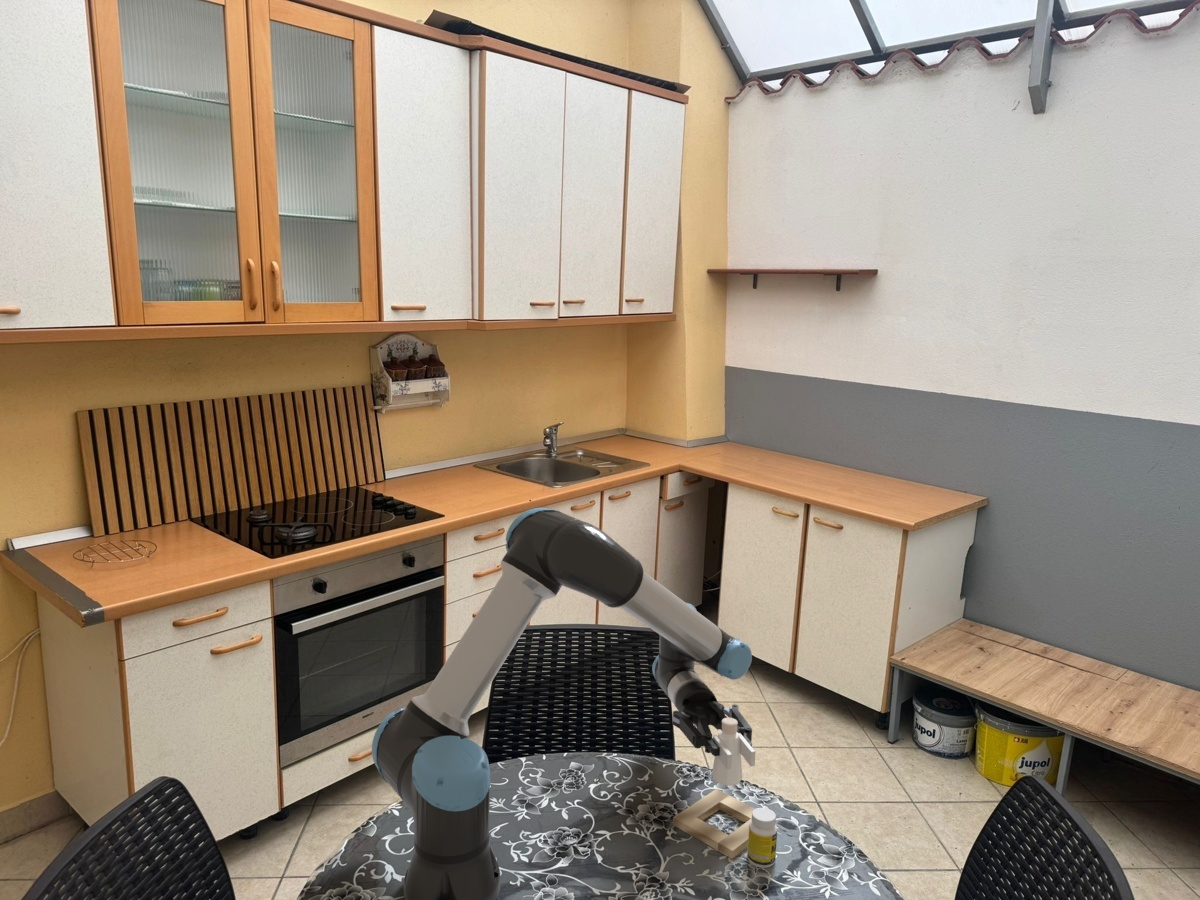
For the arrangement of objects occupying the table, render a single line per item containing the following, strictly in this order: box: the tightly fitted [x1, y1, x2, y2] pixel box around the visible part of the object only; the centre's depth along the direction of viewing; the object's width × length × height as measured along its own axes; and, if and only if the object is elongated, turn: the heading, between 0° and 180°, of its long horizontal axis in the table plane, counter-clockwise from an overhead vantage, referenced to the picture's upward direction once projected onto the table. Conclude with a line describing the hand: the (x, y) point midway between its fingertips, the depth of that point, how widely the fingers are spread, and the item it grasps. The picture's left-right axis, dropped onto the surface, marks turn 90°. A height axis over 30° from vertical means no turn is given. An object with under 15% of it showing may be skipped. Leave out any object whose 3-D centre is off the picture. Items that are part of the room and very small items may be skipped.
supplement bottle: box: [746, 807, 778, 869], centre depth 140 cm, size 5×5×8 cm
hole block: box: [672, 788, 756, 860], centre depth 149 cm, size 13×13×2 cm
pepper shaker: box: [711, 717, 743, 787], centre depth 147 cm, size 5×5×11 cm
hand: (741, 760), depth 142 cm, fingers closed on pepper shaker, 4 cm apart
